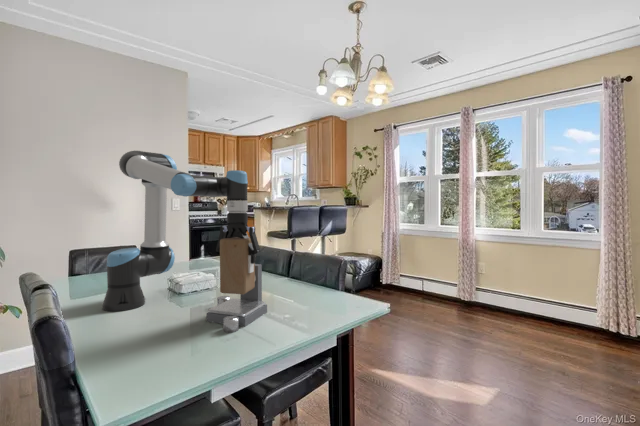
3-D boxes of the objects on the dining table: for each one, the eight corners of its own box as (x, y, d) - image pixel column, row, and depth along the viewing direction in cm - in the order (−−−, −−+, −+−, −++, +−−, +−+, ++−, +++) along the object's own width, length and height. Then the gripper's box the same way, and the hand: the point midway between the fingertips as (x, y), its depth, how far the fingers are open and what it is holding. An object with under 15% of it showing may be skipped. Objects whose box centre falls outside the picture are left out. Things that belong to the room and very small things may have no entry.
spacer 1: (214, 308, 134) (214, 298, 134) (222, 304, 138) (222, 295, 138) (225, 309, 132) (225, 299, 132) (232, 305, 137) (232, 296, 137)
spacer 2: (220, 331, 109) (220, 319, 109) (229, 326, 114) (229, 315, 114) (233, 333, 108) (233, 321, 108) (241, 328, 112) (241, 316, 112)
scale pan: (208, 319, 119) (208, 309, 119) (232, 307, 133) (232, 298, 133) (244, 324, 114) (244, 314, 114) (265, 311, 128) (265, 301, 128)
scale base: (206, 321, 119) (206, 271, 118) (236, 305, 137) (235, 262, 136) (245, 326, 114) (244, 274, 113) (270, 309, 132) (270, 265, 131)
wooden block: (244, 295, 117) (244, 239, 117) (219, 293, 119) (218, 238, 119) (255, 288, 127) (255, 236, 127) (231, 286, 129) (231, 236, 129)
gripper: (205, 212, 123) (205, 271, 123) (259, 212, 115) (260, 275, 116) (217, 211, 130) (218, 267, 130) (269, 212, 122) (270, 271, 123)
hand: (237, 271), depth 123 cm, fingers closed on wooden block, 10 cm apart
